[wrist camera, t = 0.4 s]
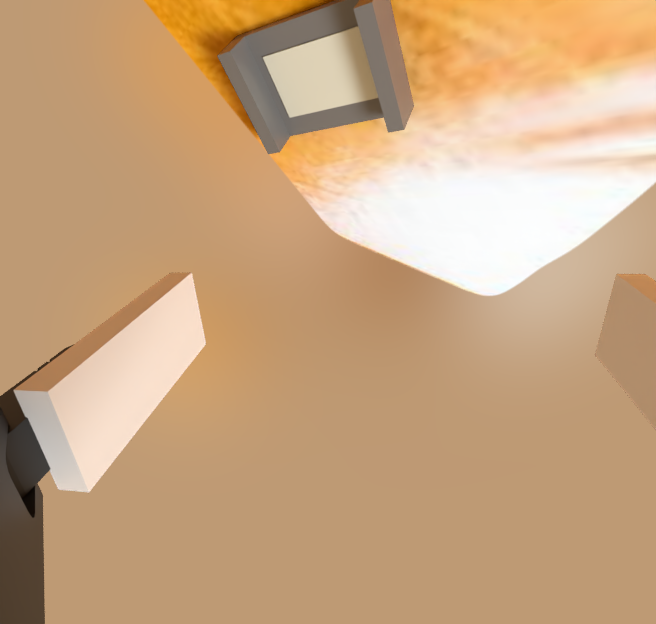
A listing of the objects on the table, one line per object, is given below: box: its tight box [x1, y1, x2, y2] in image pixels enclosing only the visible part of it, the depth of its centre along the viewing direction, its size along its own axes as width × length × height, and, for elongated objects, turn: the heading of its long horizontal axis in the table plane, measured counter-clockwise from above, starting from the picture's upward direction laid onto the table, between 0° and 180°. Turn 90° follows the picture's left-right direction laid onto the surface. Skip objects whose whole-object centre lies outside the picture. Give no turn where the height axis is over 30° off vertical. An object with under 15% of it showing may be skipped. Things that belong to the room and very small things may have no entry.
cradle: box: [217, 0, 414, 154], centre depth 39 cm, size 10×15×4 cm, turn 112°
